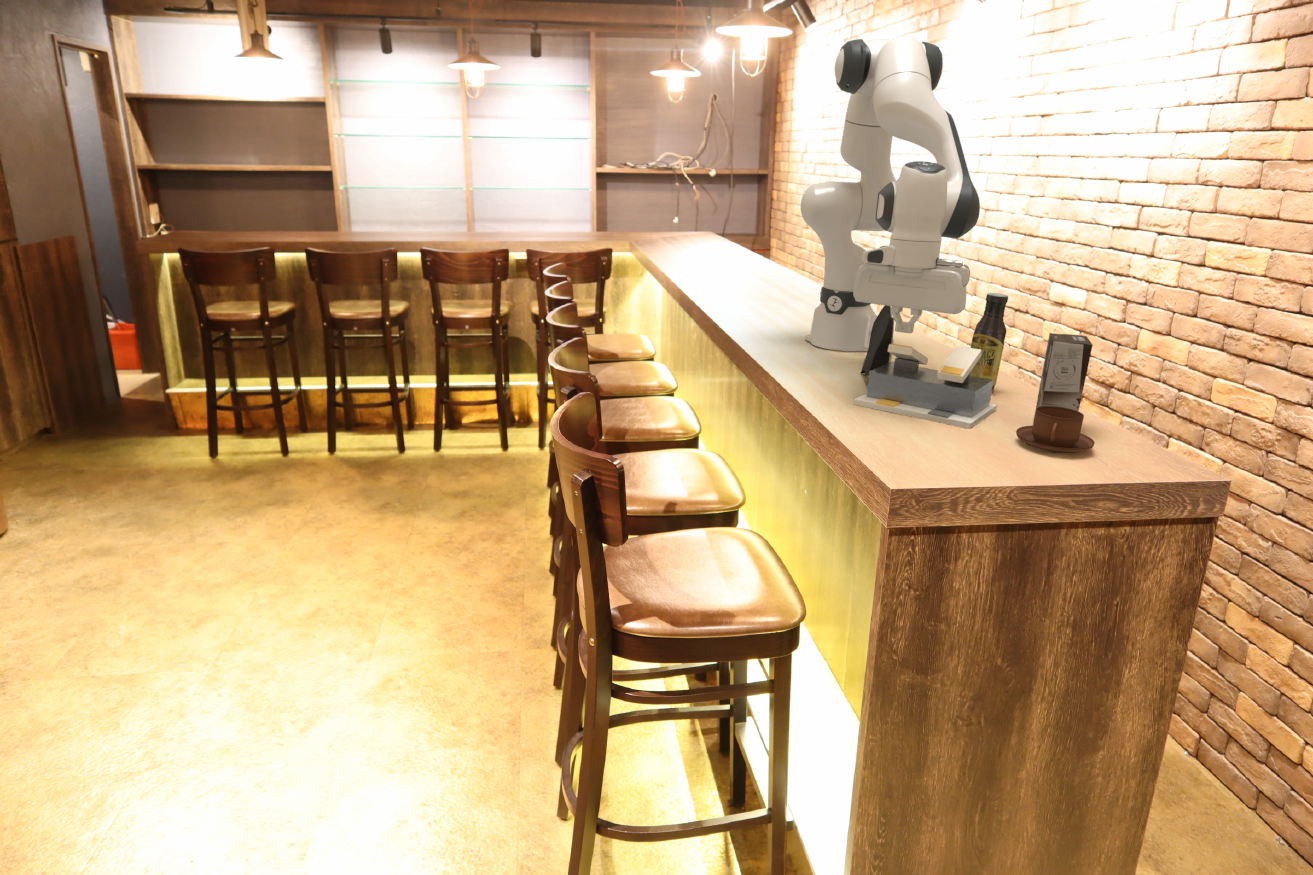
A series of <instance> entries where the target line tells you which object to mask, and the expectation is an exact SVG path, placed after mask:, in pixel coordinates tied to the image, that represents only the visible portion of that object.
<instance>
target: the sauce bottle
mask: <svg viewBox="0 0 1313 875" xmlns="http://www.w3.org/2000/svg"><path fill="white" fill-rule="evenodd" d="M1008 300H1009V295H1008V294H1003V293H1000V292H999V293H998V292H987V293H986V298H985V306H984V312H983V315H982V316H981V318H980V320H979V321H978V322H977V324H976V325H975V329H974V331H973V335H972V339H971V343H970V347H969V348H974V349H980V350H982V351H981V357H980V359H979V360H978V362H977V363H976V364H975V366H974V367H973V369H972V374H971V376H974V377H980V378H986V379H991V380H993V386H992V392H993V391H994V389H995V386H996V385H997V380H998V376H999V371H1000V365H1001V361H1002V356H1003V351H1004V346H1005V340H1006V336H1007V328H1006V324H1005V322H1004V316H1005V310H1006V305H1007V303H1008Z"/></svg>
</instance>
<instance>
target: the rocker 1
mask: <svg viewBox="0 0 1313 875" xmlns="http://www.w3.org/2000/svg"><path fill="white" fill-rule="evenodd" d="M888 352H889V353H891V354H892V356H894V357H895V358H903V359H909V360H915V361H919V365H925V366H927V363H928V360H929V358H928V356H926V355H924V354H923V353H921V352H920V351H918V350H917V349H915V348H914V347H912V346H910V345H909V346H908V345H902V344H896V343H893V344H889V347H888Z"/></svg>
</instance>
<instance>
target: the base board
mask: <svg viewBox="0 0 1313 875" xmlns="http://www.w3.org/2000/svg"><path fill="white" fill-rule="evenodd" d="M866 396H867V392H866V393H865V394H862V395H860V396H857V397H856V398H853V405H854V406H855V405H856V406H859V407H865V408H869V409H875V410H879V411H884V412H888V413H893V414H898V415H902V416H906V417H912V418H915V419H920V420H921V419H922V420H924V421H926V420H927V421H931V422H936V423H940V424H945V425H950V426H955V427H959V428H964V429H968V430H971V429H972V428H973V427H975V426H976V425H977V424H979V423H980V422H982V421H983V420H985V418H987V417H989V416H990V415H991V414H993V413H994V412H995V411H996V410H997V407H998V406H997V405H998V404H994V403H990V404H989V406H988V407H986V408H985V409H983V410H982V411H981V412H979V413H978V414H976V415H975V416H973V417H972V418H969V417H964V416H959V415H954V414H953V413H950V412H945V411H940V410H935V409H933V410H929V409H925V408H920V407H915V406H910V405H905V404H900V402H896V401H891V400H886V399H875V398H871V397H866Z"/></svg>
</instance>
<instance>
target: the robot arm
mask: <svg viewBox="0 0 1313 875" xmlns="http://www.w3.org/2000/svg"><path fill="white" fill-rule="evenodd" d="M943 60H944V59H943V53H942V51H941V50H940V47H939V46H938V45H936V44H934V43H931V42H927V41H922V42H920V41H919V40H917V39H916V38H913V37H911V36H899V37H895V38H892V39H867V40H866V39H865V40H864V39H862V38H859V39H851V40H848V41H846V42H845V43H844V44H843V45H842V46H841V47H840V50H839V52H838V54H837V56H836V59H835V63H834V76H835V82H836V85H837V87H838V88H839V90H840V91H842V92H845V93H847V94H850V97H849V100H848V104H847V107H846V108H847V109H846V114H845V119H844V125H843V131H842V135H841V136H842V139H841V144H840V154H841V157H842V159H843V161H844V162H845V163H847V164H848V165H849V166H850V167H851V168H854V169H856V170H857V171H859V172H860V179H859V180H860V181H858V182H852V181H826V182H819V183H814V184H810V185H809V186H808V187H807V189H806V190H805V191H804V193H803V195H802V197H801V200H800V205H799V206H800V214H801V216H802V219H803V221H804V222H805V223H806V225H807V226H808V227H810V228H811V229H812V230H813V232H815V234H816V235H817V237H818V239H819V240H820V242H821V245H822V248H823V253H824V276H823V286H822V287H821V289H820V293H819V297H820V298H819V301H820V304H819V305H818V306H817V307H816V308H814V311H813V317H812V322H811V328H810V334H807V335H806V336H805V341H807V342H809V343H810V344H812V346H815V347H817V348H822V349H827V350H834V351H841V352H867V351H868V348H869V342H870V336H871V331H872V327H873V323H874V321H875V320H876V318H877V316H878V314H876V312H875V311H874V309H873V308H872V304H874V305H881V306H885V305H887V306H891V313H892V317H893V318H894V332H898V333H904V334H913V333H914V329H915V328H914V327H915V323H917V321H918V320H919V319H920V317H921V316H922V314H923V311H925V312H932V313H933V312H934V313H941V314H947V315H948V314H949V315H958V314H960V313H962V312H963V311H964V310H965V309H966V306H967V304H966V303H967V285H968V283H969V282H970V278H971V277H970V276H971V269H970V267H969V266H968V265H967V263H964V261H963V260H952V259H948V258H946V259H945V258H940V253H941V247H942V246H941V245H942V238H943V237H944V238H949V239H957V240H958V239H960V238H962V237H963V236H964V235H966V234H967V233H969V232H970V231H971V230H972V229H973V228H974V227H975V226H976V225H977V223H978V221H979V217H980V208H981V207H980V206H981V204H980V197H979V194H978V191H977V189H976V188H975V186H974V183H973V182H972V179H971V175H970V172H969V169H968V165H967V162H966V157H965V154H964V151H963V147H962V146H963V145H962V143H961V139H960V135H959V132H958V130H957V126H956V123H955V120H954V118H953V116H952V114H951V113H949V112H948V111H947V110H946V109H944V108H943V106H941V104H940V103H939V102H938V100H937V98H936V97H935V94H934V92H933V91H934V90H936V89H937V86H938V84H939V82H940V80H941V76H942V74H943V67H944V65H943V64H944V62H943ZM893 137H894V138H896V139H900V140H903V141H906V142H909V143H911V144H914V145H917V146H920V147H921V148H924V149H925V150H926V151H928V152H929V153H930V154H932V155H933V156H934V157H933V158H935V161H936V162H932V161H923V160H921V161H917V160H916V161H915V160H914V161H910V162H907V163H905V164H904V165H902V167H901V169H900V174H899V178H897V179H896V178H895V177H896V176H894V173H893V170H892V165H891V152H892V151H891V149H892V142H893ZM852 231H859V232H860V231H863V232H866V231H867V232H884V231H885V232H888V233H891V234H890V241H889V244H888V245H883V246H879V247H877V248H873V249H868V250H866V249H864V248H863V247H862V246H860V245H858V244H856V242H853V239H852ZM904 309H909V310H910V315H911V316H912V317H911V318H910V319H909V321H903V319H902V318H903V317H902V315H901V313H902V312H903V310H904Z"/></svg>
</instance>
